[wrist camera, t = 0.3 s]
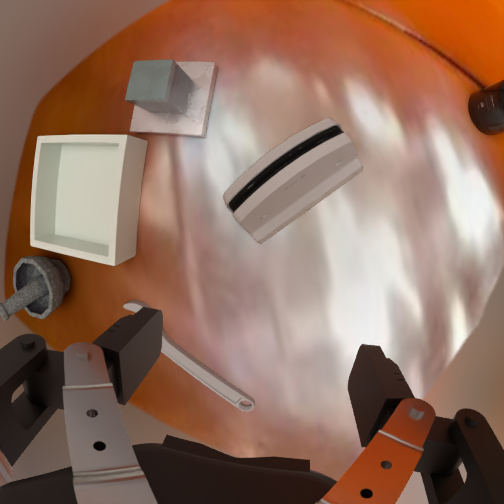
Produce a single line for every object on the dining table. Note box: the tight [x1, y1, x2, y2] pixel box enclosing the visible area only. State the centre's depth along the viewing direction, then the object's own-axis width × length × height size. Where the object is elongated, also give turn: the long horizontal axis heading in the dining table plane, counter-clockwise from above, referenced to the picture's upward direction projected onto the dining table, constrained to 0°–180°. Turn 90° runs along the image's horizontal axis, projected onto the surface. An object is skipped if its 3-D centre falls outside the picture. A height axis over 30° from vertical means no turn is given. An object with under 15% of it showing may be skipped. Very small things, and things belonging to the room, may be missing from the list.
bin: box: [30, 135, 148, 266], centre depth 37 cm, size 16×16×6 cm
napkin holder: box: [223, 118, 363, 244], centre depth 33 cm, size 17×5×10 cm, turn 127°
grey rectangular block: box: [125, 60, 191, 114], centre depth 31 cm, size 5×5×7 cm
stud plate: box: [130, 62, 218, 138], centre depth 33 cm, size 10×10×7 cm
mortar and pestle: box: [0, 256, 71, 321], centre depth 38 cm, size 11×9×12 cm
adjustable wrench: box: [123, 300, 255, 411], centre depth 44 cm, size 25×6×2 cm, turn 46°
